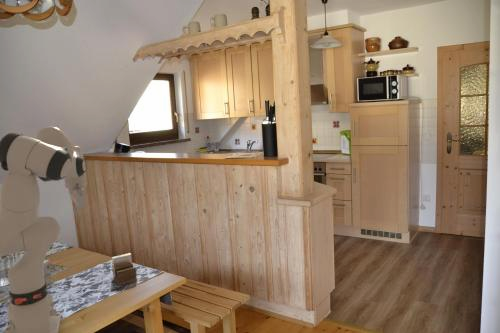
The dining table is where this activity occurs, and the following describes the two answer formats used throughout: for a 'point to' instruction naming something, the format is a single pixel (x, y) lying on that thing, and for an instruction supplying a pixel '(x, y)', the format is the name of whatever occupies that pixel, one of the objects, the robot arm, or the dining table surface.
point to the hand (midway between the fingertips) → (79, 212)
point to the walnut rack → (125, 274)
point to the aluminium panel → (121, 260)
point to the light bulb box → (47, 272)
